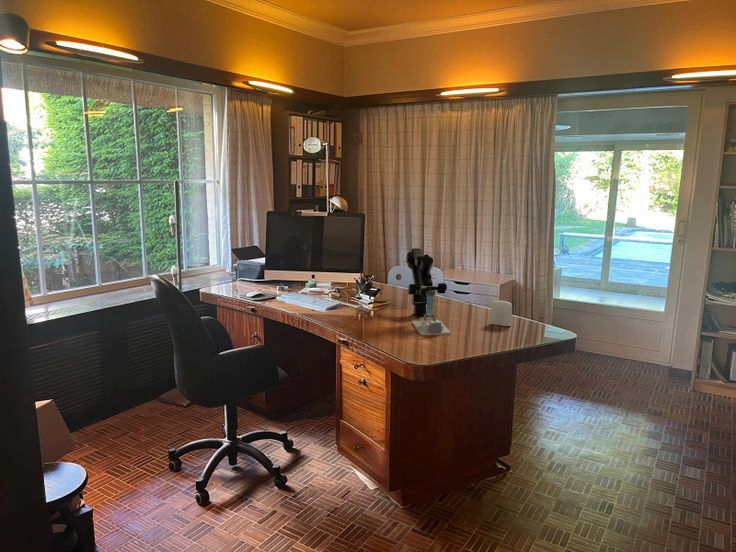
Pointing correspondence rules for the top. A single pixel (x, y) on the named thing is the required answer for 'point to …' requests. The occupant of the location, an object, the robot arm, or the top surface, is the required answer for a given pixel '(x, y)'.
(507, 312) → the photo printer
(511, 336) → the top surface
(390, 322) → the top surface
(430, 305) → the lever
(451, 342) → the top surface
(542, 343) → the top surface
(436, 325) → the heatsink board
